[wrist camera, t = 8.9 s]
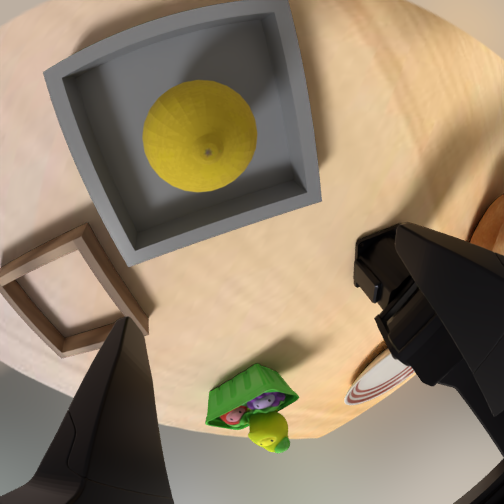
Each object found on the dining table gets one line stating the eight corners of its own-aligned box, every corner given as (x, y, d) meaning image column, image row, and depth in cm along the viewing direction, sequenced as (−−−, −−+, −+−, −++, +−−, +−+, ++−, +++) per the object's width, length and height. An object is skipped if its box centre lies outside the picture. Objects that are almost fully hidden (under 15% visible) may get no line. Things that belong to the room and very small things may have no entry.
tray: (269, 7, 13) (287, -3, 10) (303, 185, 21) (321, 201, 19) (61, 72, 11) (43, 72, 9) (132, 243, 20) (128, 267, 18)
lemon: (153, 79, 13) (137, 75, 7) (242, 85, 15) (293, 90, 9) (146, 163, 16) (133, 221, 10) (229, 165, 18) (267, 220, 12)
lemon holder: (87, 222, 18) (81, 236, 16) (148, 318, 25) (148, 334, 23) (0, 267, 17) (-8, 282, 15) (64, 343, 24) (61, 358, 22)
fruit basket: (258, 354, 33) (288, 435, 24) (293, 370, 38) (322, 436, 29) (195, 392, 35) (212, 465, 26) (236, 404, 40) (255, 465, 31)
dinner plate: (456, 315, 51) (464, 325, 48) (382, 388, 62) (388, 398, 59) (412, 301, 38) (424, 315, 35) (312, 399, 49) (318, 413, 46)
